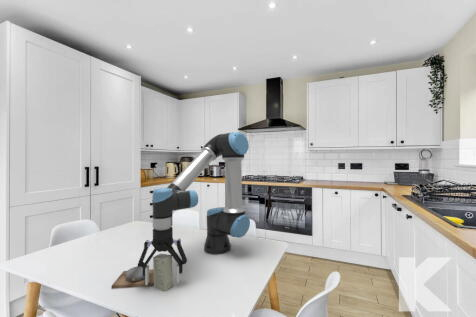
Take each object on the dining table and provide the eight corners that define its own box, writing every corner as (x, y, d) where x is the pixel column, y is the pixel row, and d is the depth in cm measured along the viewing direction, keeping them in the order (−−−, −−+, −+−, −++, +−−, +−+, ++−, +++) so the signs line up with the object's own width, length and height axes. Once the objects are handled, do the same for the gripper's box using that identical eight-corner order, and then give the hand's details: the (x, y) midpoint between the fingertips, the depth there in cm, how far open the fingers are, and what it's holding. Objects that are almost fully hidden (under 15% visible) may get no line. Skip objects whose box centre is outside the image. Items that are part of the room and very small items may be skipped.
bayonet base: (160, 271, 103) (160, 263, 103) (153, 286, 91) (153, 276, 91) (123, 273, 101) (123, 265, 101) (111, 288, 89) (111, 279, 89)
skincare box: (173, 285, 91) (172, 255, 91) (165, 291, 87) (165, 259, 87) (160, 282, 93) (160, 252, 93) (152, 288, 89) (152, 257, 89)
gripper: (193, 223, 95) (194, 275, 95) (135, 225, 93) (135, 279, 93) (191, 229, 88) (192, 285, 88) (128, 231, 85) (128, 289, 85)
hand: (163, 282), depth 90 cm, fingers open, 11 cm apart
